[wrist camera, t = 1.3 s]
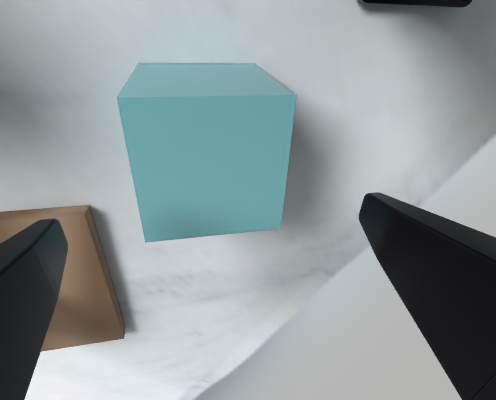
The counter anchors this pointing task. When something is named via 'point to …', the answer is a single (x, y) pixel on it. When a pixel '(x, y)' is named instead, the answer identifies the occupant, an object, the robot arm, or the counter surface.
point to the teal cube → (207, 147)
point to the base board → (76, 279)
